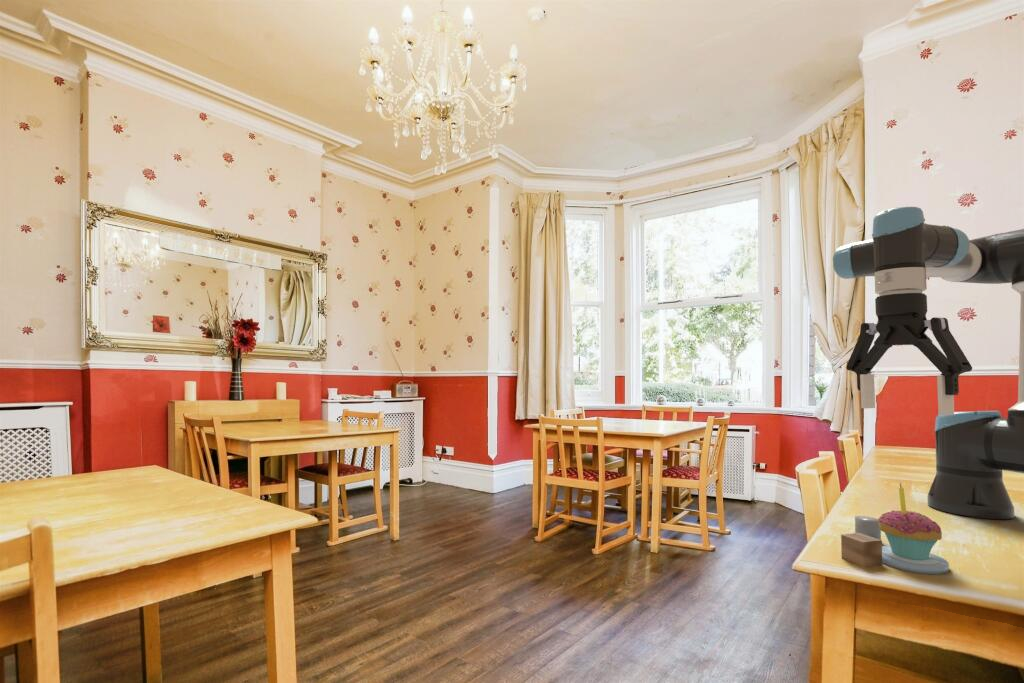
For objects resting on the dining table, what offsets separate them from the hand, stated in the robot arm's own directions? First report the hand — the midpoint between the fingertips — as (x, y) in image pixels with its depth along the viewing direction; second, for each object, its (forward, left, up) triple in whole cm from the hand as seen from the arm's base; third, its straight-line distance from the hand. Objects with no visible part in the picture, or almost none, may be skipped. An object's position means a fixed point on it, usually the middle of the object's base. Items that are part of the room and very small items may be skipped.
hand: (904, 411), depth 93 cm
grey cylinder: (+2, -6, -25) cm, 26 cm away
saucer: (+6, +4, -25) cm, 26 cm away
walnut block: (+13, +2, -25) cm, 28 cm away
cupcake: (+6, +4, -24) cm, 25 cm away
